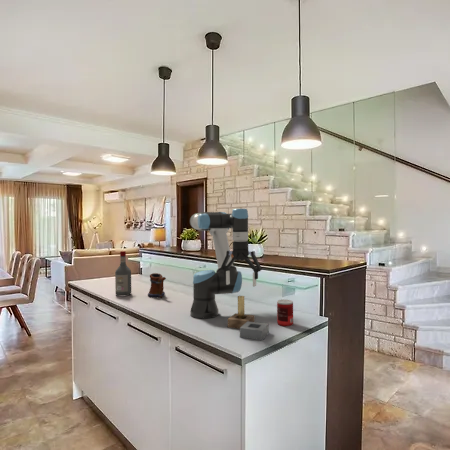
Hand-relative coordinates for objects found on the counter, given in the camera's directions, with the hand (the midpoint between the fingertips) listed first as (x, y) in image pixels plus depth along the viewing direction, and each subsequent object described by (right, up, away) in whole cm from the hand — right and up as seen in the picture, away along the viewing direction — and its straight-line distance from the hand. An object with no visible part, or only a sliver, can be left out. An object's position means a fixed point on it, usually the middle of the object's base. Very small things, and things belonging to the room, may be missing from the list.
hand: (241, 285), depth 156 cm
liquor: (-78, -20, +71) cm, 107 cm away
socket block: (+5, -20, -13) cm, 24 cm away
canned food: (+22, -19, +2) cm, 29 cm away
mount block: (0, -19, 0) cm, 19 cm away
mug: (-52, -20, +63) cm, 84 cm away
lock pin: (0, -19, 0) cm, 19 cm away
